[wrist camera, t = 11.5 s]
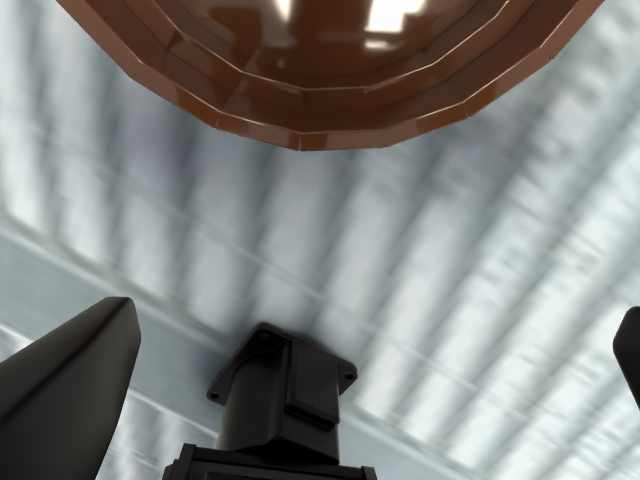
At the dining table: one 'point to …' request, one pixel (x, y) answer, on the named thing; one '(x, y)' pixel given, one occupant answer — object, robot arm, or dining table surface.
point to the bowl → (331, 61)
